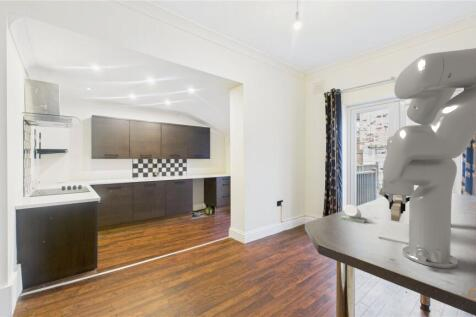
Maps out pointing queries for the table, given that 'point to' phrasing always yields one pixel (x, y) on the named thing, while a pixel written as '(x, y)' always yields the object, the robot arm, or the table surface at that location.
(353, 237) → the table surface
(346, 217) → the sage stop bar
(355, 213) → the white bottle
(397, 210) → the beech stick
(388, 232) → the grey mat
